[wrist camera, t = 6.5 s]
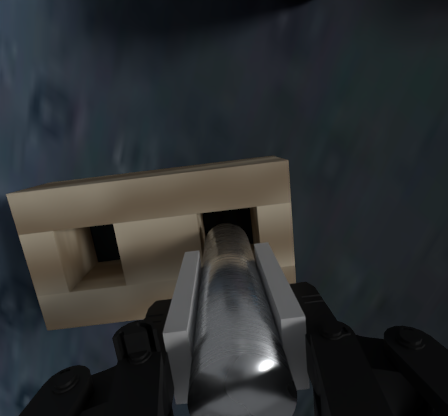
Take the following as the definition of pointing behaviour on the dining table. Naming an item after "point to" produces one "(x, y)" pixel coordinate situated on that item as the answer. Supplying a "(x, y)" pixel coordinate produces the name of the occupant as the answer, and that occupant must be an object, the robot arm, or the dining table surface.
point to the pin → (236, 336)
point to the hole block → (140, 233)
